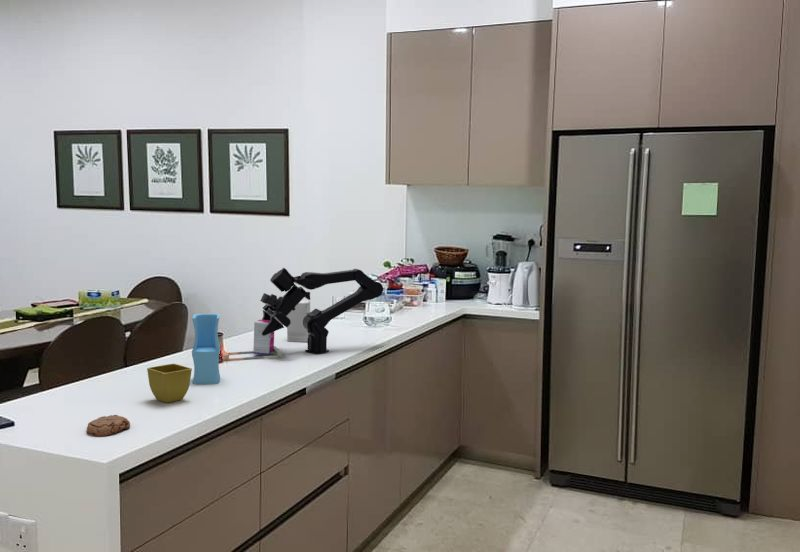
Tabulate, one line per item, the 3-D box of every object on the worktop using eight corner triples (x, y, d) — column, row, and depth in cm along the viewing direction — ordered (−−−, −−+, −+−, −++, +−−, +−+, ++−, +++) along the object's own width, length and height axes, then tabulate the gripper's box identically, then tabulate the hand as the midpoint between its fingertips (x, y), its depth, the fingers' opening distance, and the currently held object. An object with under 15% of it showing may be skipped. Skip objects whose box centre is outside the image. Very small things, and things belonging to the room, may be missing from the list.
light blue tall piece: (192, 384, 219) (191, 318, 217) (194, 377, 227) (193, 313, 225) (219, 383, 221) (219, 318, 218) (220, 377, 228) (220, 313, 226)
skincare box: (310, 339, 290) (311, 300, 288) (307, 342, 284) (307, 303, 282) (290, 338, 291) (290, 299, 289) (285, 341, 284) (286, 302, 283)
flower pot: (174, 393, 209) (174, 362, 208) (192, 399, 203) (192, 368, 202) (146, 399, 202) (146, 367, 201) (164, 406, 196) (164, 373, 195)
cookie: (80, 438, 170) (80, 426, 170) (91, 424, 181) (91, 412, 181) (125, 437, 172) (125, 424, 172) (134, 423, 182) (133, 411, 182)
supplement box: (268, 355, 257) (269, 322, 255) (252, 354, 258) (253, 321, 256) (274, 351, 262) (275, 320, 261) (258, 350, 263) (259, 319, 262)
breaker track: (274, 351, 267) (274, 345, 267) (282, 357, 258) (282, 351, 257) (219, 354, 259) (219, 349, 259) (224, 361, 250) (224, 355, 249)
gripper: (268, 282, 267) (238, 313, 264) (281, 288, 250) (249, 322, 247) (289, 302, 271) (259, 333, 268) (303, 310, 254) (272, 343, 251)
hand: (259, 332), depth 259 cm, fingers closed on supplement box, 8 cm apart
